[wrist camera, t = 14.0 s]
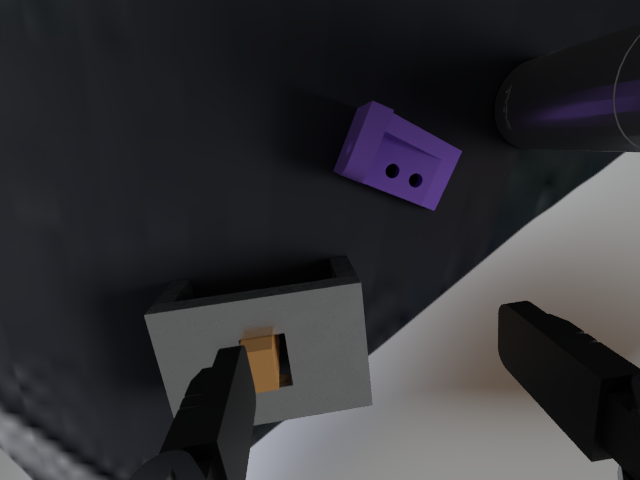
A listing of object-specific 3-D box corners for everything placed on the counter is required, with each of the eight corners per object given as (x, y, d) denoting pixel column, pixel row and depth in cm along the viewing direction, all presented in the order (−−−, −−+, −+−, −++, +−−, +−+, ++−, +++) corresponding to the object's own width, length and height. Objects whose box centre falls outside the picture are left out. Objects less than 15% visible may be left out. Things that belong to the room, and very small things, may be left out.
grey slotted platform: (346, 255, 40) (361, 282, 32) (357, 359, 44) (372, 405, 36) (171, 281, 39) (144, 315, 31) (198, 385, 43) (179, 438, 35)
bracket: (332, 170, 38) (342, 176, 31) (356, 108, 36) (372, 100, 30) (428, 208, 40) (457, 221, 33) (455, 150, 38) (490, 152, 32)
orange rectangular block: (274, 298, 41) (271, 348, 31) (279, 331, 42) (278, 389, 32) (248, 301, 40) (238, 353, 31) (254, 334, 42) (246, 394, 32)
